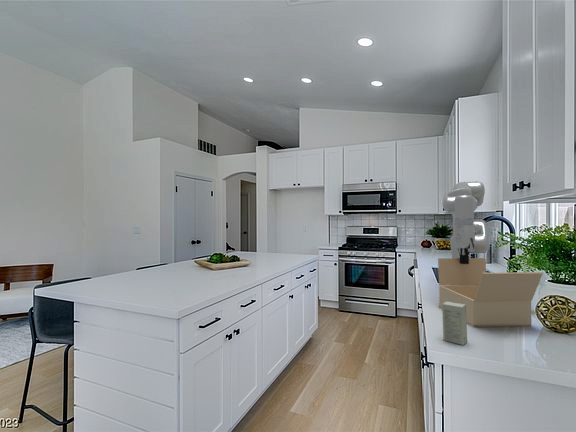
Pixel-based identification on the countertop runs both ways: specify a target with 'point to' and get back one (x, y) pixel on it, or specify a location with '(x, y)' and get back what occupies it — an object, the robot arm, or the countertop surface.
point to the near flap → (460, 271)
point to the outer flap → (507, 286)
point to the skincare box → (454, 322)
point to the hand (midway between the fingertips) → (464, 263)
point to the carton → (487, 308)
